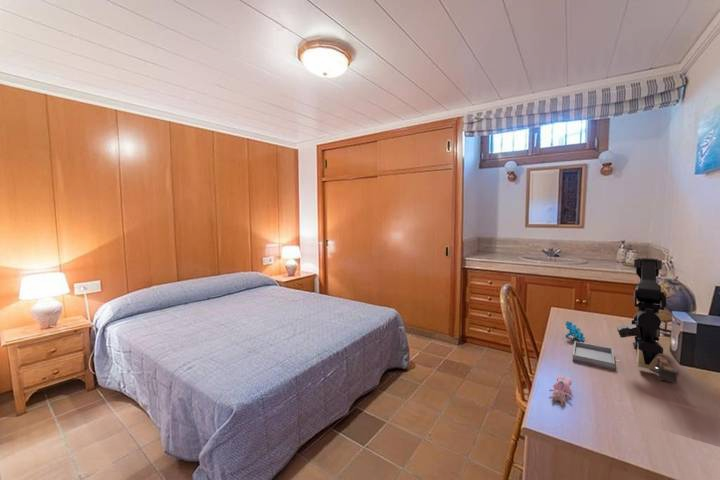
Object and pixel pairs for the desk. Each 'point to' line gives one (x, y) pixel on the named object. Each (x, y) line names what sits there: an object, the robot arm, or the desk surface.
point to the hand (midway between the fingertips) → (645, 361)
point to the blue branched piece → (574, 331)
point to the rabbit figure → (561, 389)
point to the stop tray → (594, 355)
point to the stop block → (641, 361)
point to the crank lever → (665, 370)
